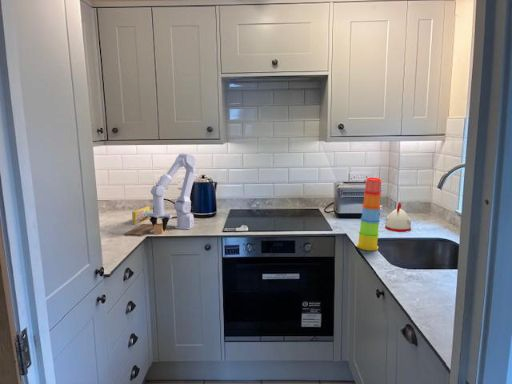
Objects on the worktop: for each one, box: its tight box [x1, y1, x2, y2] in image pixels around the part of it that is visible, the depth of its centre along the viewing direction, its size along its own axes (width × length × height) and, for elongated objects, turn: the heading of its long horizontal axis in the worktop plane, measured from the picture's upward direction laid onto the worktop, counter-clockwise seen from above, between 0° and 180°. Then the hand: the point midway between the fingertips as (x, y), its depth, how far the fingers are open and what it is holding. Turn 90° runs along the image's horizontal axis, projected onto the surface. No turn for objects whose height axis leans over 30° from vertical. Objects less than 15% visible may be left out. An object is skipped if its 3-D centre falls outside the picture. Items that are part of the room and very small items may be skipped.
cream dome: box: [384, 202, 412, 233], centre depth 216 cm, size 14×14×15 cm
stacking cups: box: [356, 177, 382, 252], centre depth 182 cm, size 10×10×35 cm
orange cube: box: [153, 222, 167, 235], centre depth 214 cm, size 5×5×5 cm
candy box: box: [131, 206, 151, 226], centre depth 238 cm, size 16×2×8 cm, turn 161°
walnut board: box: [124, 223, 154, 237], centre depth 218 cm, size 10×20×1 cm, turn 167°
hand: (160, 229), depth 214 cm, fingers closed on orange cube, 5 cm apart
